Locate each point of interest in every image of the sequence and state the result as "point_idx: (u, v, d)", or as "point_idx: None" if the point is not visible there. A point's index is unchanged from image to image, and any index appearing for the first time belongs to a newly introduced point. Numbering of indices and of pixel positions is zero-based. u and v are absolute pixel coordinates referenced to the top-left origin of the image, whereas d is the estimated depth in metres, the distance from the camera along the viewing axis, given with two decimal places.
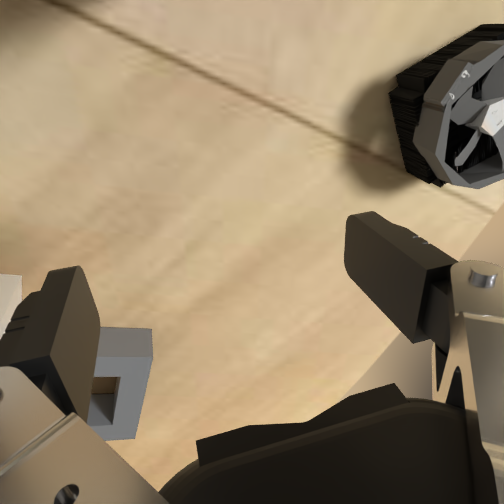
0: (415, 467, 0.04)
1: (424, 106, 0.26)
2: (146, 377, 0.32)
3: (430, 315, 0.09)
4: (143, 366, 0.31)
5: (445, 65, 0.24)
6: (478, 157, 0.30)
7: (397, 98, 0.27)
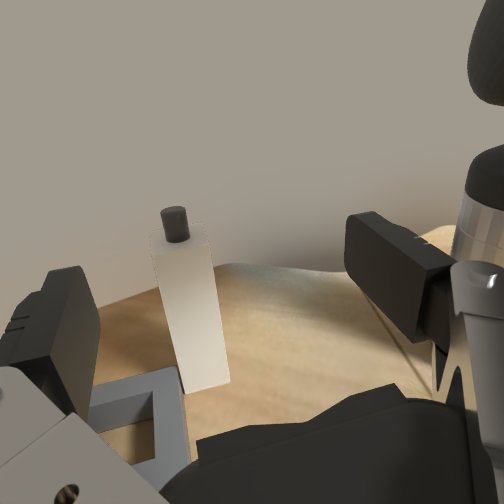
0: (415, 467, 0.04)
1: None
2: (154, 487, 0.25)
3: (430, 315, 0.09)
4: (173, 475, 0.26)
5: None
6: None
7: None
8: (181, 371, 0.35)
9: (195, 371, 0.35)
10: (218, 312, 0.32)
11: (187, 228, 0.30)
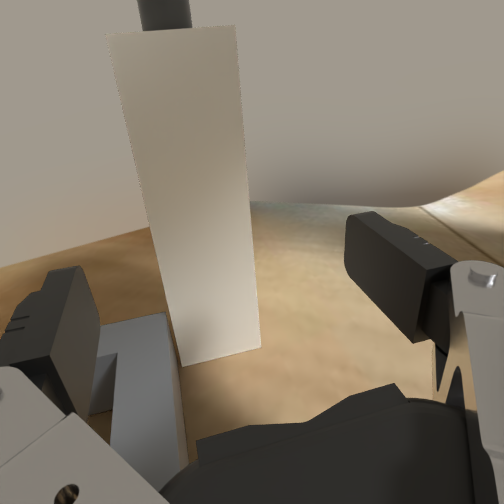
0: (415, 467, 0.04)
1: None
2: None
3: (430, 315, 0.09)
4: None
5: None
6: None
7: None
8: (175, 321, 0.19)
9: (200, 323, 0.19)
10: (246, 201, 0.17)
11: (187, 5, 0.14)
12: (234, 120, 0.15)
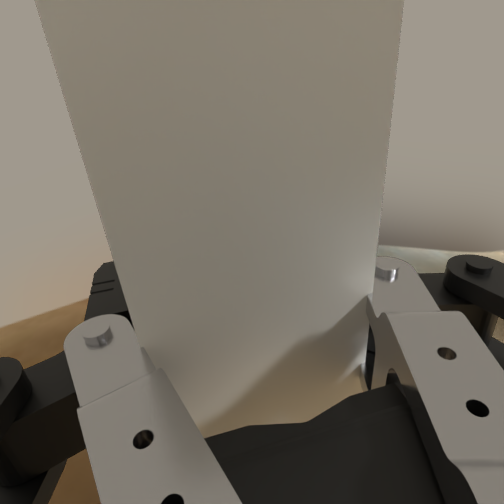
0: (415, 467, 0.04)
1: None
2: None
3: None
4: None
5: None
6: None
7: None
8: None
9: None
10: (361, 353, 0.08)
11: None
12: (364, 205, 0.06)
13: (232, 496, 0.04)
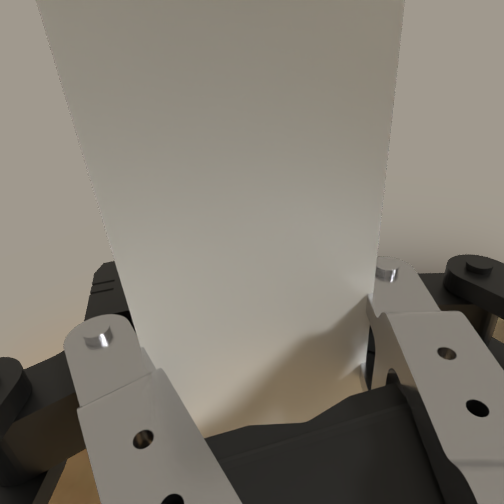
0: (415, 467, 0.04)
1: None
2: None
3: None
4: None
5: None
6: None
7: None
8: None
9: None
10: (361, 353, 0.08)
11: None
12: (364, 205, 0.06)
13: (232, 496, 0.04)
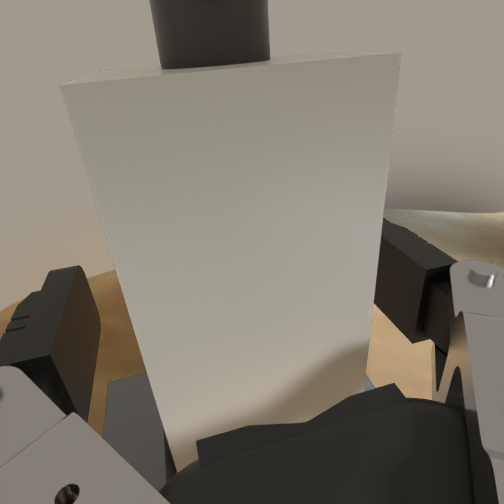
0: (415, 467, 0.04)
1: None
2: None
3: (430, 315, 0.09)
4: None
5: None
6: None
7: None
8: None
9: None
10: (359, 386, 0.09)
11: (265, 1, 0.06)
12: (361, 257, 0.07)
13: None
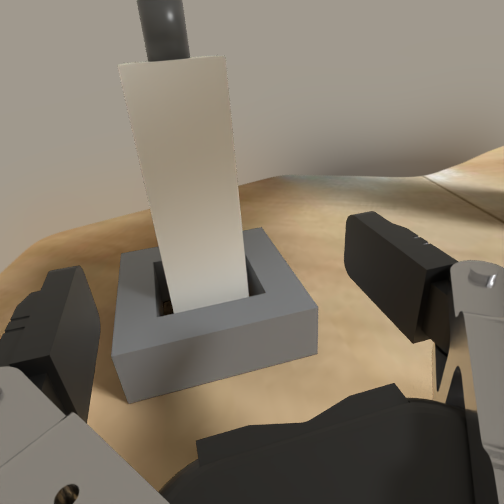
0: (415, 467, 0.04)
1: None
2: (275, 315, 0.20)
3: (430, 315, 0.09)
4: (296, 305, 0.20)
5: None
6: None
7: None
8: (175, 308, 0.21)
9: None
10: (237, 202, 0.19)
11: (185, 37, 0.17)
12: (225, 134, 0.18)
13: None
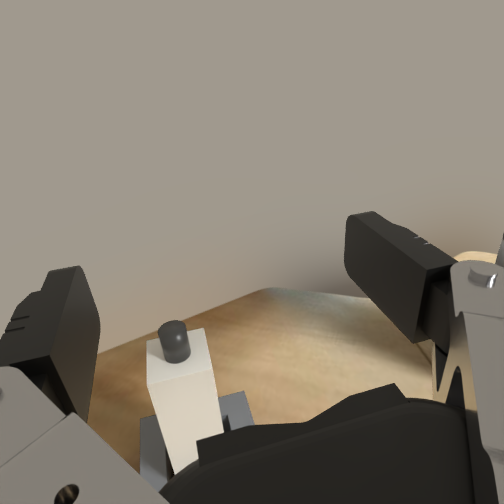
0: (415, 467, 0.04)
1: None
2: None
3: (430, 315, 0.09)
4: None
5: None
6: None
7: None
8: None
9: None
10: (221, 429, 0.29)
11: (188, 346, 0.27)
12: (213, 400, 0.28)
13: None
